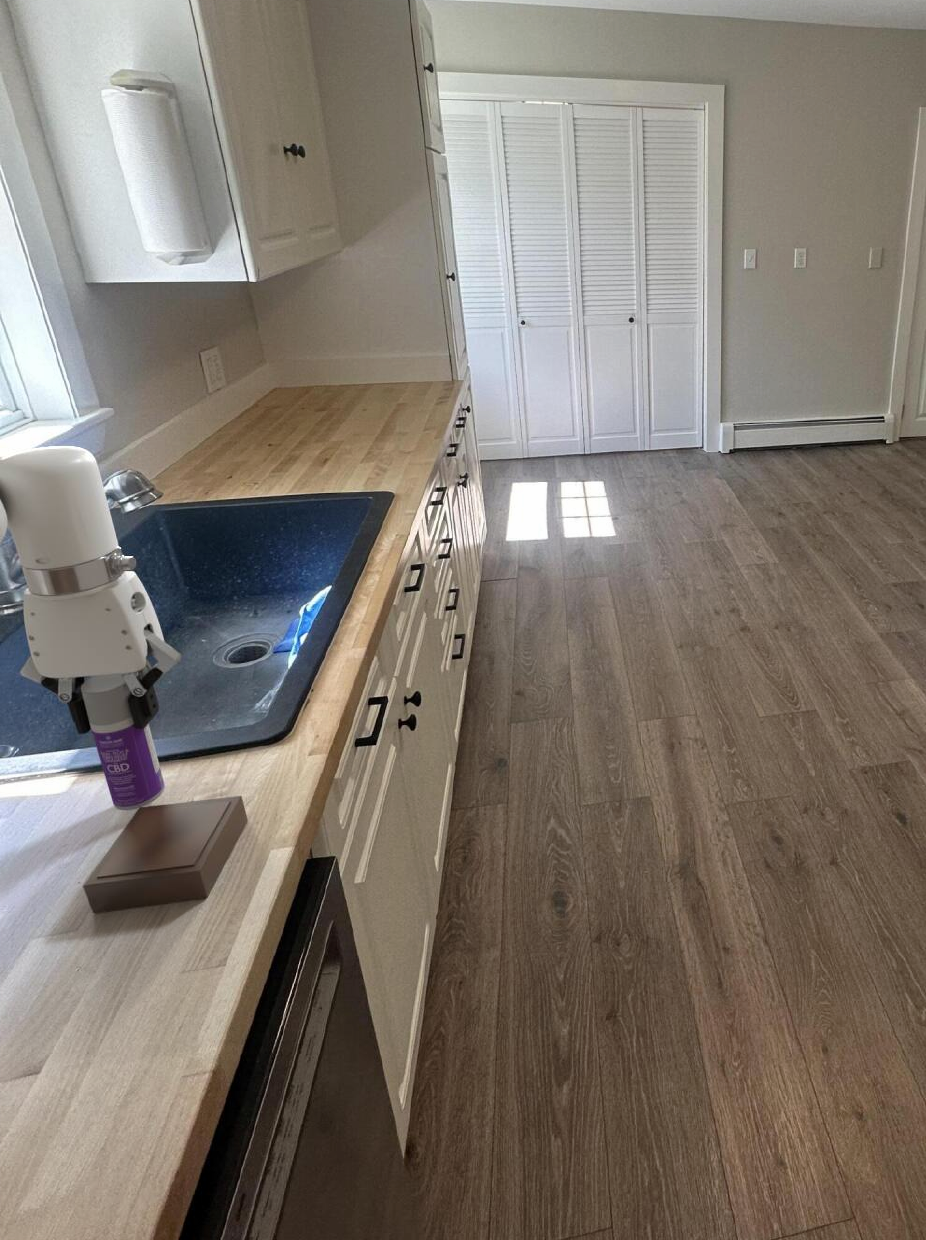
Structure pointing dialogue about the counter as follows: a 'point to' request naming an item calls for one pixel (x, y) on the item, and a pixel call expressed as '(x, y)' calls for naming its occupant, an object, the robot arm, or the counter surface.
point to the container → (122, 743)
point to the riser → (167, 854)
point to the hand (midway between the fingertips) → (119, 721)
